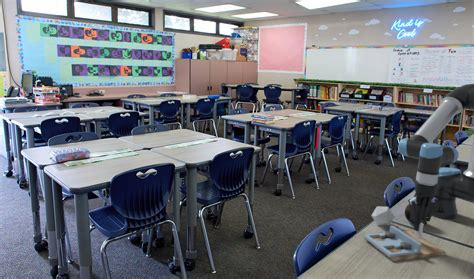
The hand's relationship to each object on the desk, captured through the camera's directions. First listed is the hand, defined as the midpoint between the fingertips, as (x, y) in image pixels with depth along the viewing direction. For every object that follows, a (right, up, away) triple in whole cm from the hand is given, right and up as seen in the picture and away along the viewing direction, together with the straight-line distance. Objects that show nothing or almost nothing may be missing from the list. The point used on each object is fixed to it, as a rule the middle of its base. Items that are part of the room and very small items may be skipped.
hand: (417, 237), depth 146 cm
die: (-7, +1, +18) cm, 20 cm away
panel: (-12, -2, -3) cm, 13 cm away
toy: (+9, +1, +21) cm, 23 cm away
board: (-6, -3, -1) cm, 7 cm away
